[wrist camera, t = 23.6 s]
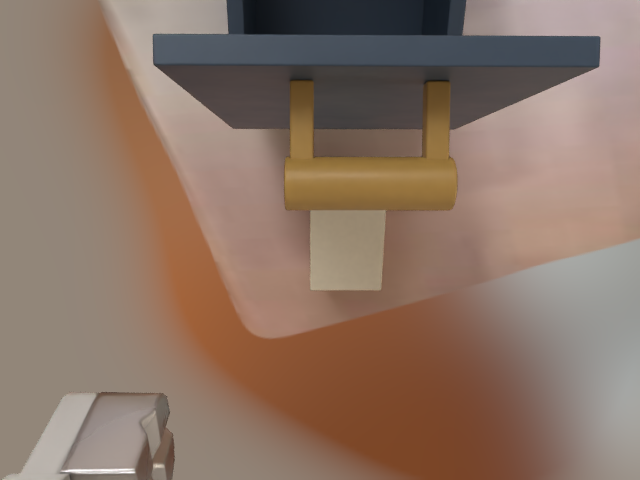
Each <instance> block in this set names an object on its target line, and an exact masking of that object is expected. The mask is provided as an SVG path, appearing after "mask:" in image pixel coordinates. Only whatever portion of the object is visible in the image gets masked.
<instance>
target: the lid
mask: <svg viewBox="0 0 640 480" xmlns="http://www.w3.org/2000/svg"><path fill="white" fill-rule="evenodd" d="M599 61H600V37H599V36H452V35H273V34H153V64H154V65H155V66H156V67H157V68H158V69H160V70H161V71H162V72H163V73H165V74H166V75H167V76H168V77H170V78H171V79H172V80H173V81H175V82H176V83H177V84H178V85H180V86H181V87H182V88H183V89H185V90H186V91H187V92H188V93H190V94H191V95H192V96H193V97H194V98H196V99H197V100H198V101H199V102H201V103H202V104H203V105H204V106H206V107H207V108H208V109H209V110H211V111H212V112H213V113H214V114H216V115H217V116H218V117H219V118H221V119H222V120H223V121H224V122H226V123H227V124H228V125H229V126H230V127H232V128H233V129H290V157H286V158H285V165H284V199H285V208H286V210H451V209H452V208H453V206H454V204H455V200H456V195H457V168H456V164H455V161H454V159H453V158H451V157H449V134H450V129H456V128H459V127H461V126H463V125H466V124H468V123H470V122H473V121H475V120H477V119H479V118H482V117H484V116H486V115H489V114H491V113H493V112H496V111H498V110H500V109H503V108H505V107H507V106H510V105H512V104H514V103H517V102H519V101H521V100H523V99H526V98H528V97H530V96H533V95H535V94H537V93H540V92H542V91H544V90H547V89H549V88H551V87H554V86H556V85H558V84H560V83H563V82H565V81H567V80H570V79H572V78H574V77H577V76H579V75H581V74H584V73H586V72H588V71H591V70H593V69H595V68H598V67H599ZM314 129H422V157H314Z"/></svg>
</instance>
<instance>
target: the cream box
mask: <svg viewBox="0 0 640 480" xmlns="http://www.w3.org/2000/svg"><path fill="white" fill-rule="evenodd" d="M385 221H386V210H310V290H381V284H382V268H383V252H384V237H385Z"/></svg>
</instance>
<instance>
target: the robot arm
mask: <svg viewBox="0 0 640 480" xmlns="http://www.w3.org/2000/svg"><path fill="white" fill-rule="evenodd" d="M169 414H170V411H169V405H168V400H167V396H166V395H164V394H163V393H117V392H101V393H84V392H83V393H82V392H70V393H68V394H67V395H65V396H64V397H63V398H62V399H61V401H60V402H59V404H58V406H57V408H56V410H55V411H54V413H53V415H52V417H51V419H50V420H49V422H48V424H47V426H46V428H45V429H44V431H43V433H42V435H41V436H40V438H39V440H38V442H37V444H36V445H35V447H34V449H33V451H32V453H31V454H30V456H29V458H28V460H27V461H26V464H25V465H24V467H23V469H22V470H21V472H20V474H9V475H7V476H6V477H5V478H3V479H2V480H172V477H173V469H174V461H175V459H174V457H175V456H174V439H173V434H172V433H171V432H170V431H169V430H168V429H167V428H166V424H167V421H168V417H169Z"/></svg>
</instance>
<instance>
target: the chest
mask: <svg viewBox="0 0 640 480" xmlns="http://www.w3.org/2000/svg"><path fill="white" fill-rule="evenodd" d="M465 7H466V0H227V14H228V31H229V34H273V35H452V36H462V34H463V25H464V16H465Z"/></svg>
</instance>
